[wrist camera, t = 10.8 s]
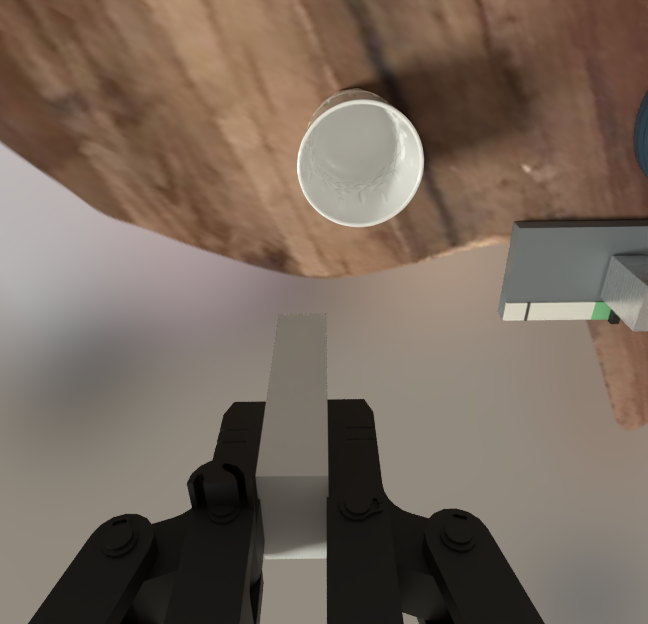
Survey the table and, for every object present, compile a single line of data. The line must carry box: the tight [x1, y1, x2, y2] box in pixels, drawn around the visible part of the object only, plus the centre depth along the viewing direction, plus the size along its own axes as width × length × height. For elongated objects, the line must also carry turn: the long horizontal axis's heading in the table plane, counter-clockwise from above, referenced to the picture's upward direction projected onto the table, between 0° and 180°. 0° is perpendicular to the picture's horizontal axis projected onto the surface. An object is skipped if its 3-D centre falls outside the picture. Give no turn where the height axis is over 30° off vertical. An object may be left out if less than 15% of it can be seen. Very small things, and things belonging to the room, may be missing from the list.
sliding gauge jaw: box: [600, 255, 648, 331], centre depth 43 cm, size 3×6×6 cm, turn 1°
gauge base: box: [498, 220, 648, 321], centre depth 43 cm, size 18×9×8 cm, turn 91°
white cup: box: [297, 88, 424, 227], centre depth 37 cm, size 8×8×10 cm
